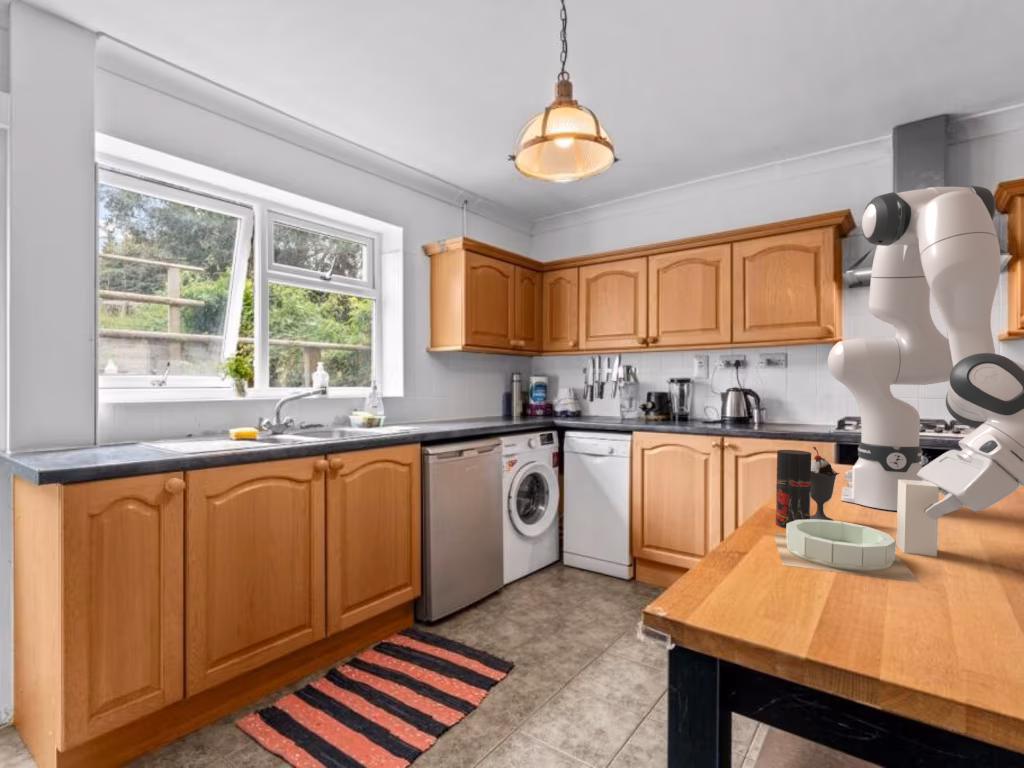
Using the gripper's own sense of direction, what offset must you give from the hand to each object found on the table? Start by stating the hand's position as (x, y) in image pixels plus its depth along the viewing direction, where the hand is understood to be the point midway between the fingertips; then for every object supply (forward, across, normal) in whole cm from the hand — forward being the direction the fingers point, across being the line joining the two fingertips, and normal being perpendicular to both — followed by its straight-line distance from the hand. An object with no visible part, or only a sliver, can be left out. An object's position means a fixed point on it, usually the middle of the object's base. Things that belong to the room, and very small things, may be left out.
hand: (918, 508), depth 92 cm
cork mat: (+15, +8, -4) cm, 17 cm away
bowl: (+14, +8, -4) cm, 17 cm away
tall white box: (+5, 0, +5) cm, 8 cm away
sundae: (+14, -17, -3) cm, 22 cm away
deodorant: (+18, -8, -7) cm, 21 cm away
